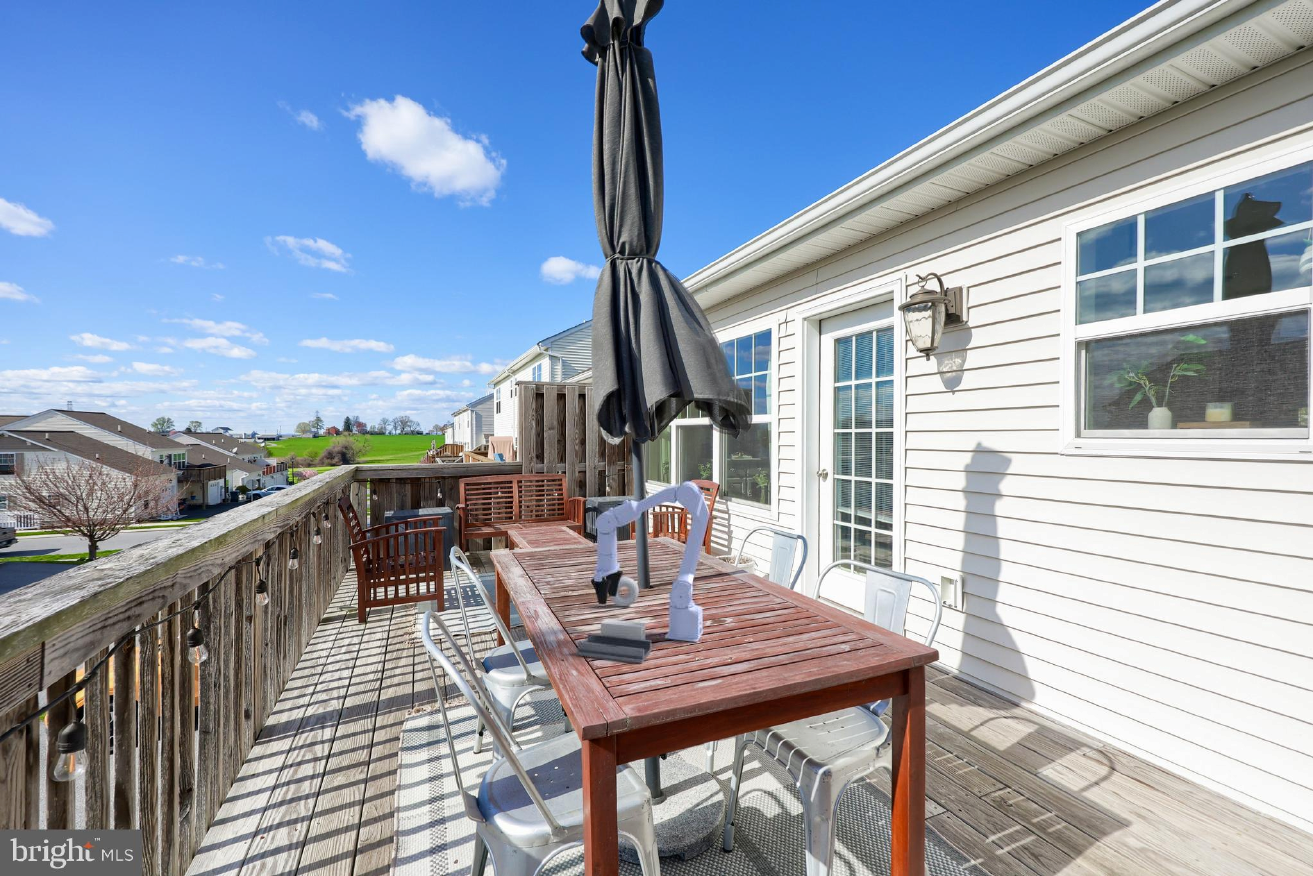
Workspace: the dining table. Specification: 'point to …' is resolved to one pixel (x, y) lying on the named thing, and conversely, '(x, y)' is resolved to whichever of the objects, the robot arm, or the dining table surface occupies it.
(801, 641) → the dining table surface
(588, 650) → the grey u-channel tray
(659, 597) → the dining table surface
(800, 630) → the dining table surface
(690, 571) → the robot arm
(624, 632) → the grey metal bar
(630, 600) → the donut
